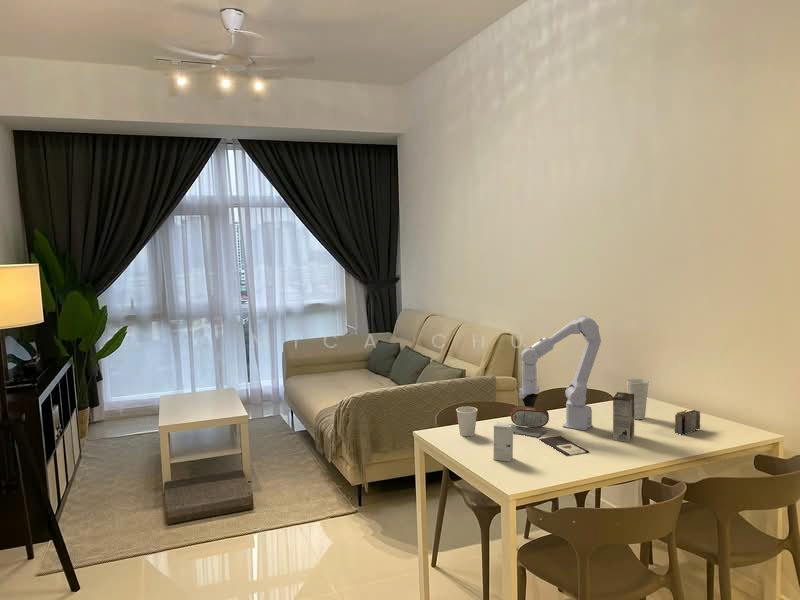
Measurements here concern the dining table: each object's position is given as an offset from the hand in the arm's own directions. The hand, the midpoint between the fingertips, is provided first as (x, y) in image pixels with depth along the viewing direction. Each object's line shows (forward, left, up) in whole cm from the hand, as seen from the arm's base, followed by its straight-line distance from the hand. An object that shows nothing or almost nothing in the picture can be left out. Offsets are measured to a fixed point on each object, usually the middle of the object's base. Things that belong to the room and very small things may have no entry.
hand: (529, 412), depth 240 cm
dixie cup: (+16, +22, -6) cm, 28 cm away
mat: (0, +7, -6) cm, 9 cm away
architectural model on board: (-53, -26, -7) cm, 59 cm away
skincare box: (-8, +38, -6) cm, 39 cm away
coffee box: (-35, -6, -6) cm, 36 cm away
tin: (0, +1, -5) cm, 5 cm away
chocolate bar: (-20, +15, -7) cm, 26 cm away
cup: (-32, -34, -6) cm, 47 cm away
